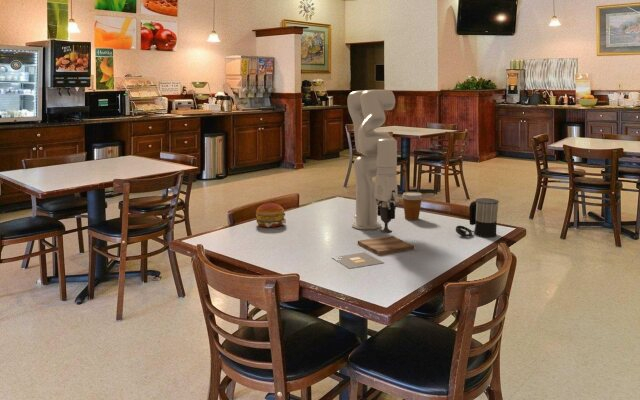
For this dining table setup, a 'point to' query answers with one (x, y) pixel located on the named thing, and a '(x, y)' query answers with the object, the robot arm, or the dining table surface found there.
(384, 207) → the sundae
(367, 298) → the dining table surface
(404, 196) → the disposable coffee cup
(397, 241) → the board
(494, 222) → the milk frother
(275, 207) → the burger
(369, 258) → the card
